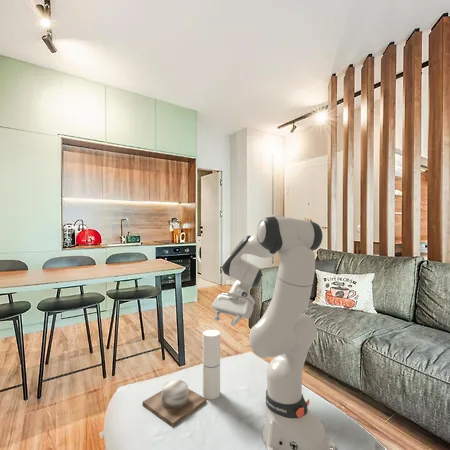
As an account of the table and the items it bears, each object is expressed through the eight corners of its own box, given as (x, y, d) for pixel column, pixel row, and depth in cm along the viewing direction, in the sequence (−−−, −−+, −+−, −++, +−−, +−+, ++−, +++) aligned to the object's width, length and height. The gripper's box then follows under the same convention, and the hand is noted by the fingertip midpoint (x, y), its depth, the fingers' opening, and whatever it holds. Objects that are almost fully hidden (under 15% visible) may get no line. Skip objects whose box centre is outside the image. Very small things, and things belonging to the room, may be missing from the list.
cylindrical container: (212, 401, 106) (212, 337, 106) (199, 394, 110) (199, 333, 111) (223, 392, 112) (223, 332, 112) (210, 386, 116) (210, 328, 116)
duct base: (206, 401, 106) (206, 385, 106) (172, 426, 93) (172, 408, 93) (176, 384, 117) (176, 370, 117) (142, 404, 104) (142, 388, 104)
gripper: (217, 288, 130) (203, 313, 123) (253, 295, 117) (239, 323, 110) (223, 295, 134) (210, 321, 126) (258, 303, 121) (246, 331, 113)
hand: (224, 322), depth 118 cm, fingers open, 8 cm apart
